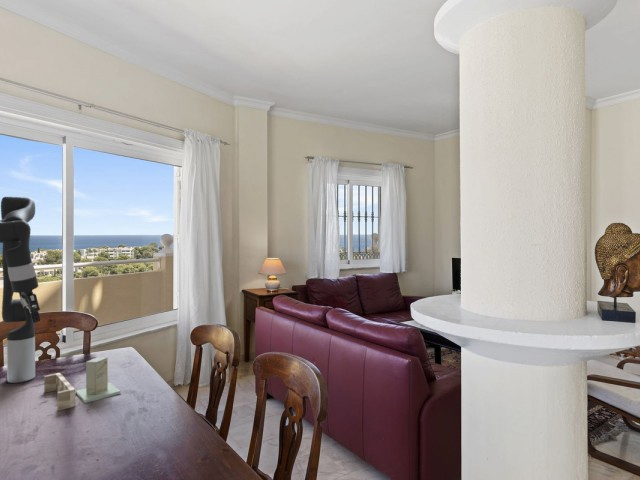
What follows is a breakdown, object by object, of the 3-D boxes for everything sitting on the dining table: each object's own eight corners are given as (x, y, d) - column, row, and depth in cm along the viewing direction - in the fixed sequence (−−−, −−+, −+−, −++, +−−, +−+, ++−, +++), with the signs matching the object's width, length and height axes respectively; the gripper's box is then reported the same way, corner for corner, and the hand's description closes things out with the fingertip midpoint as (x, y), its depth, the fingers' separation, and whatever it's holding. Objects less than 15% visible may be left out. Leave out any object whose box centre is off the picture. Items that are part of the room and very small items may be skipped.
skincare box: (95, 395, 144) (95, 362, 144) (85, 394, 145) (85, 361, 145) (108, 388, 150) (108, 357, 150) (98, 387, 151) (98, 356, 151)
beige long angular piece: (44, 391, 149) (44, 375, 149) (59, 387, 153) (59, 372, 153) (58, 410, 134) (58, 393, 134) (75, 406, 137) (75, 389, 137)
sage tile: (75, 393, 148) (75, 390, 148) (109, 384, 157) (109, 382, 156) (84, 403, 140) (84, 400, 140) (120, 393, 148) (120, 390, 148)
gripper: (41, 276, 137) (51, 319, 140) (30, 271, 146) (40, 312, 149) (14, 282, 131) (26, 327, 135) (5, 276, 141) (16, 318, 144)
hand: (33, 319), depth 142 cm, fingers open, 8 cm apart
